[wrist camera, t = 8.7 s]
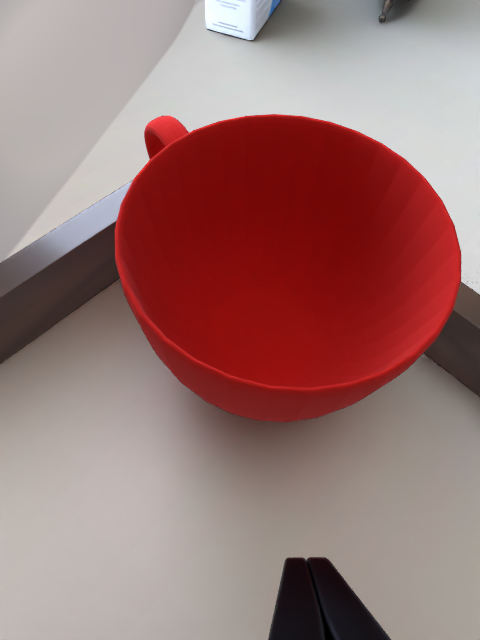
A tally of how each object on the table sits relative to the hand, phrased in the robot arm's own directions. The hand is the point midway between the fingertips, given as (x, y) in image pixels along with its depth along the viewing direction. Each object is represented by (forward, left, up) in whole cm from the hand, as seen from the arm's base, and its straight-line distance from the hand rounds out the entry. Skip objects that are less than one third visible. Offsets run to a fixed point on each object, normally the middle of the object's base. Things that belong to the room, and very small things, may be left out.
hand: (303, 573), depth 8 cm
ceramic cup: (+9, -8, -13) cm, 18 cm away
